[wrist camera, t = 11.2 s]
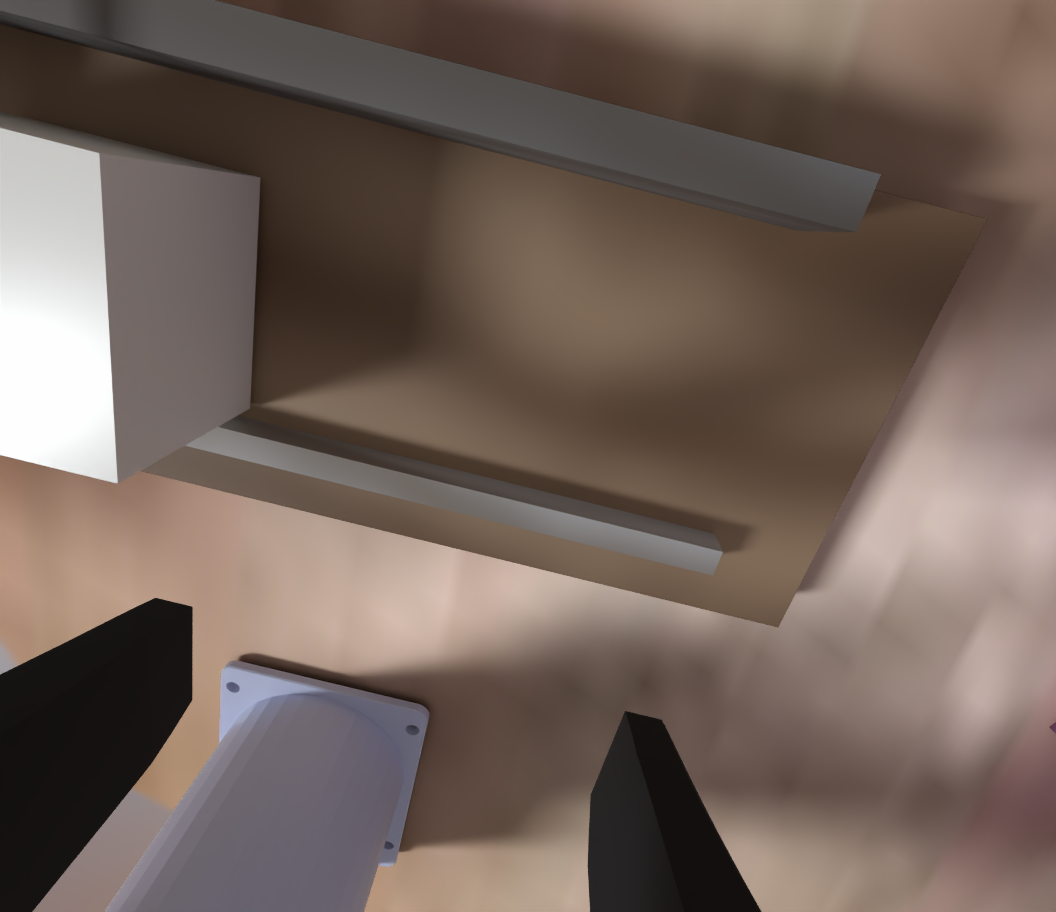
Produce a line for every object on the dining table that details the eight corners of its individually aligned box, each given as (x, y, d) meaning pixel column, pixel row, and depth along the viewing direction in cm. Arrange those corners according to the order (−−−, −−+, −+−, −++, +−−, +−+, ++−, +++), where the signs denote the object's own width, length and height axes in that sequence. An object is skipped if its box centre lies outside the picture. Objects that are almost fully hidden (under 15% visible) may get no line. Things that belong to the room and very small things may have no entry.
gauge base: (763, 597, 19) (896, 861, 11) (-126, 379, 18) (-646, 494, 11) (947, 219, 14) (1397, 213, 6) (-231, -87, 14) (-1294, -498, 6)
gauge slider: (249, 408, 16) (117, 483, 11) (40, 356, 16) (-181, 410, 11) (266, 45, 13) (88, -58, 8) (0, -24, 12) (-339, -170, 8)
